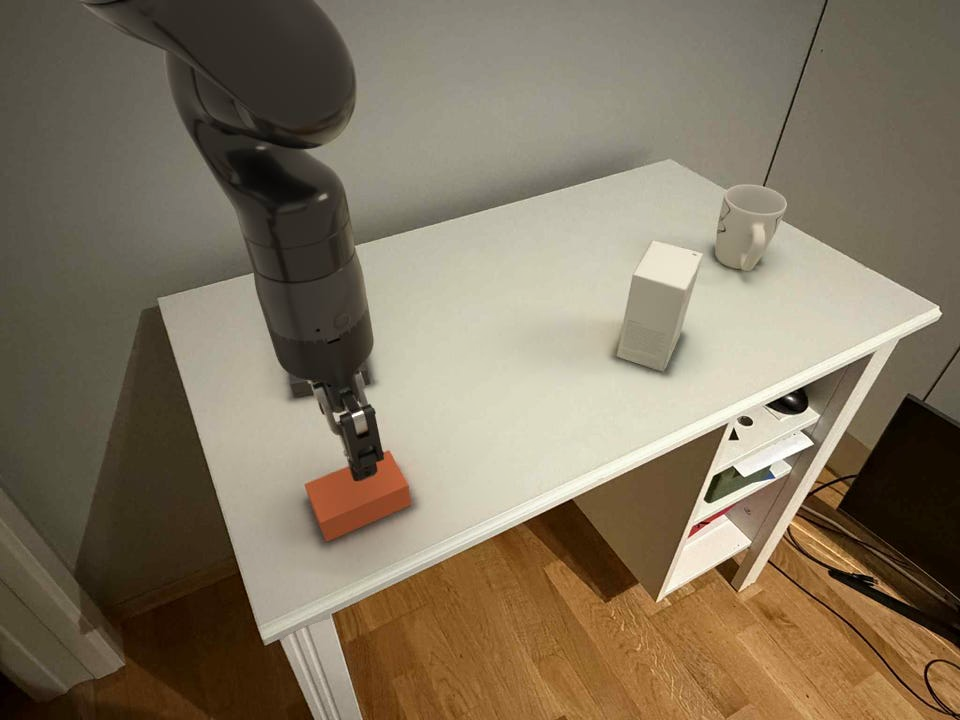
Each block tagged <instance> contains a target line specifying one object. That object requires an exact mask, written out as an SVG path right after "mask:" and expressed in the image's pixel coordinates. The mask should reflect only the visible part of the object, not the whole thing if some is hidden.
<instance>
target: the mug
mask: <svg viewBox="0 0 960 720" xmlns="http://www.w3.org/2000/svg"><path fill="white" fill-rule="evenodd" d="M787 205H788V204H787V200H786V198H785V197H784V196H783V195H782V194H781V193H779V192H778V191H776V190H774V189H772V188H770V187H766V186H763V185H759V184H758V185H757V184H747V183H746V184H745V183H744V184H736V185H734V186H731V187H729V188H728V189H727V190H726V191H725V192H724V195H723V198H722V203H721V207H720V212H719V216H718V221H717V227H716V239H715V248H714V255H715V257H716V260H717V261H718V262H720V264H722V265H724V266H726V267H728V268H732V269H736V270H742V271H744V272H750V271H752V270H753V269H754V268H755V266H756V265H757V264H758V263H759V261H760V259H761V258H762V256H763V255H764V254H765V252H766V250H767V248H768V246H769V245H770V243H771V241H772V239H773V238H774V236H775V234H776V232H777V230H778V227H779V226H780V223H781V221H782V219H783V217H784V214H785V212H786V210H787Z"/></svg>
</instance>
